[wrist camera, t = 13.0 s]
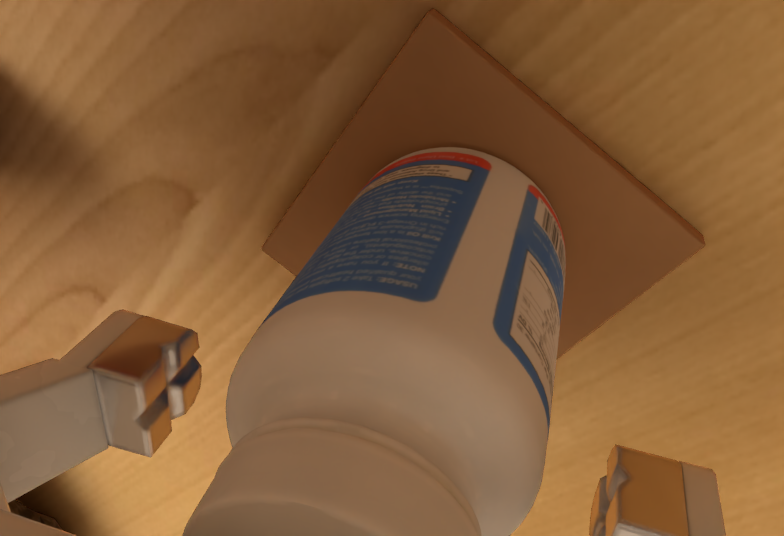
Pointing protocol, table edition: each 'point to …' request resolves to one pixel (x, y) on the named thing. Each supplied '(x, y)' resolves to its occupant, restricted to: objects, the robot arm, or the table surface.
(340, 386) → the pill bottle
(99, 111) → the table surface
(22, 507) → the rock
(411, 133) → the coaster
